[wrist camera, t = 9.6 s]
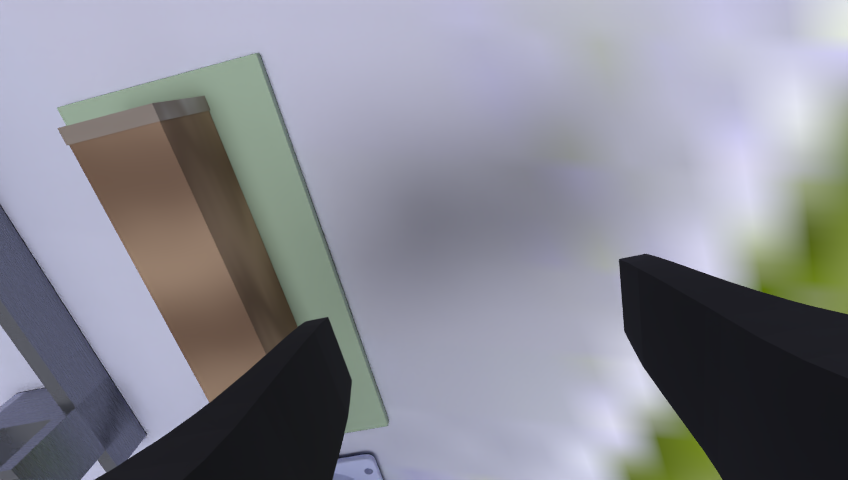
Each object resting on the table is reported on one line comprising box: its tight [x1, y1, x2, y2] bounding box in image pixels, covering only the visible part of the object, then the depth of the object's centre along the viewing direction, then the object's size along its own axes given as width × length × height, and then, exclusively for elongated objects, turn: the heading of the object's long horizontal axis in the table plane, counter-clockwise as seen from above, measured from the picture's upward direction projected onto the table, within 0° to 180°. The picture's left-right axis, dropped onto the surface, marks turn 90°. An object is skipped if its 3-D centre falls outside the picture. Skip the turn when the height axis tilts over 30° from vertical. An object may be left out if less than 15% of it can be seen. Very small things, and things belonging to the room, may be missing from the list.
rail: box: [58, 96, 298, 403], centre depth 20 cm, size 18×4×4 cm, turn 13°
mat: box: [57, 53, 389, 433], centre depth 21 cm, size 20×9×1 cm, turn 13°
